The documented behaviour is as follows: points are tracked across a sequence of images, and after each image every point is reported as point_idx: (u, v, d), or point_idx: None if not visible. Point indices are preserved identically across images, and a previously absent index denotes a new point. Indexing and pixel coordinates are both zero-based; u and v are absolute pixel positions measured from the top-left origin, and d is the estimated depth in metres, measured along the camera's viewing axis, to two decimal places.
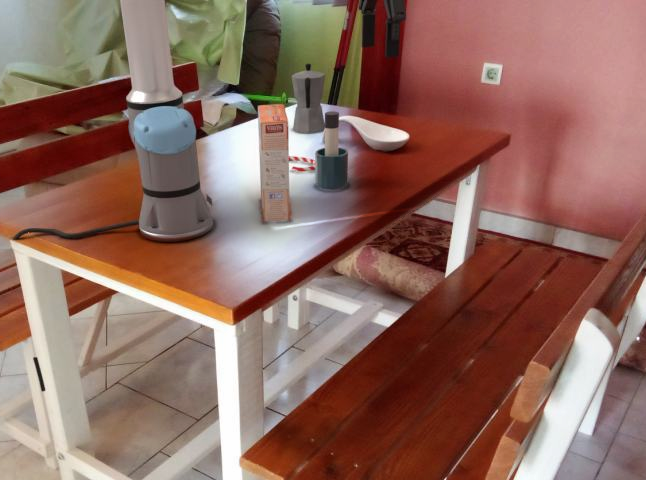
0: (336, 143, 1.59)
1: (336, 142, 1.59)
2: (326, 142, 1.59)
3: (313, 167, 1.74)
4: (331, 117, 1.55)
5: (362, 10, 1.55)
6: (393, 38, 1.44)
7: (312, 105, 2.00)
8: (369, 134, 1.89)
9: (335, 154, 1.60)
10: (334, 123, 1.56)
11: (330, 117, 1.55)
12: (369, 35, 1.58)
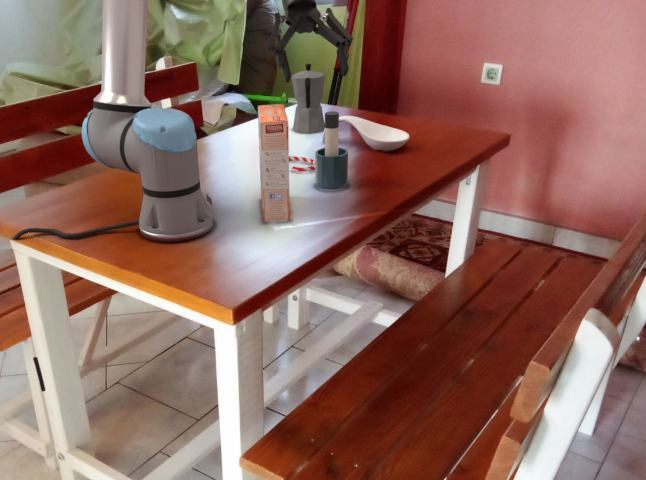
0: (336, 143, 1.59)
1: (336, 142, 1.59)
2: (326, 142, 1.59)
3: (313, 167, 1.74)
4: (331, 117, 1.55)
5: None
6: (278, 66, 1.62)
7: (312, 105, 2.00)
8: (369, 134, 1.89)
9: (335, 154, 1.60)
10: (334, 123, 1.56)
11: (330, 117, 1.55)
12: (342, 63, 1.63)
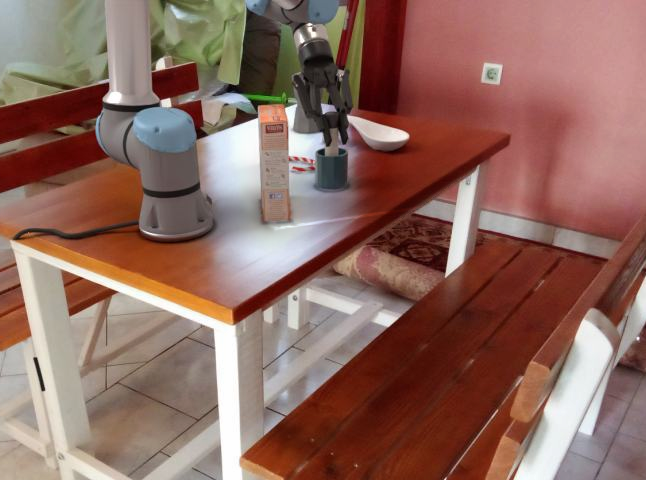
0: (336, 143, 1.59)
1: (336, 142, 1.59)
2: None
3: (313, 167, 1.74)
4: (331, 117, 1.55)
5: None
6: (318, 130, 1.57)
7: (312, 105, 2.00)
8: (369, 134, 1.89)
9: (335, 154, 1.60)
10: (334, 123, 1.56)
11: (330, 117, 1.55)
12: (341, 132, 1.57)
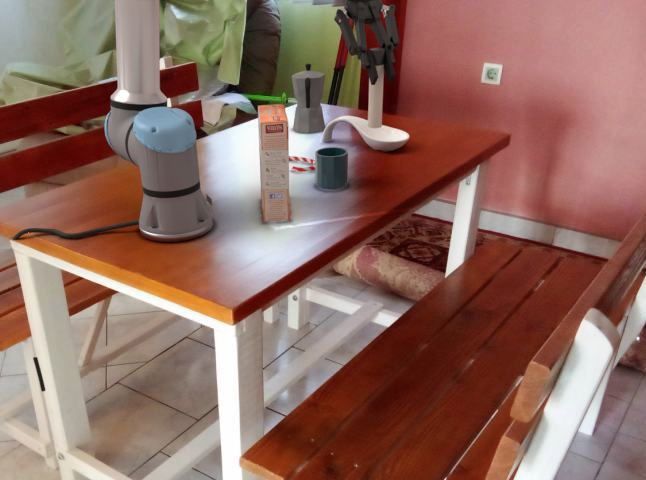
0: (381, 82, 1.51)
1: (381, 80, 1.51)
2: None
3: (313, 167, 1.74)
4: (377, 53, 1.48)
5: None
6: (363, 67, 1.49)
7: (312, 105, 2.00)
8: (369, 134, 1.89)
9: (380, 94, 1.52)
10: (380, 60, 1.49)
11: (376, 53, 1.48)
12: (387, 69, 1.49)
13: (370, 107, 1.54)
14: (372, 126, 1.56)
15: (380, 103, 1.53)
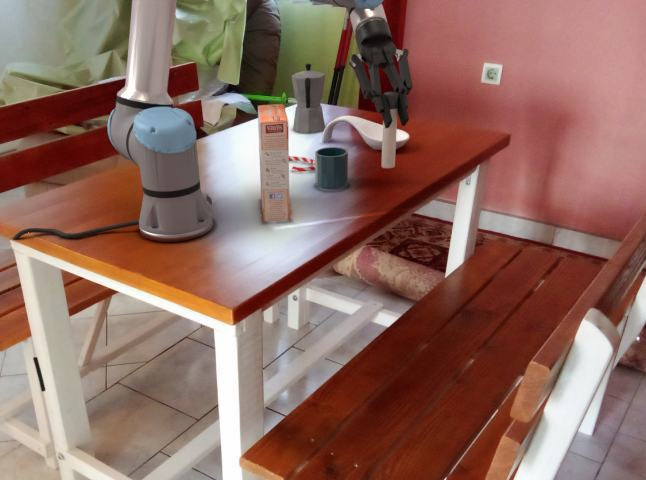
0: (395, 124, 1.56)
1: (395, 123, 1.55)
2: None
3: (313, 167, 1.74)
4: (391, 98, 1.52)
5: None
6: (377, 111, 1.54)
7: (312, 105, 2.00)
8: (369, 134, 1.89)
9: (393, 136, 1.57)
10: (394, 103, 1.53)
11: (390, 97, 1.52)
12: (401, 112, 1.53)
13: (384, 148, 1.59)
14: (386, 166, 1.60)
15: (393, 144, 1.58)
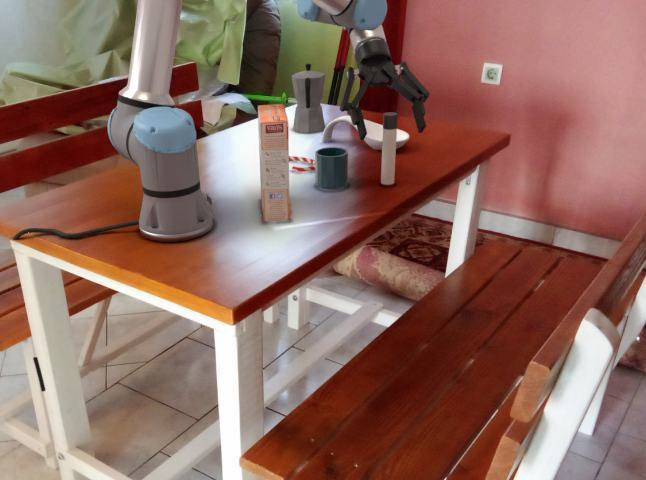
0: (394, 144, 1.58)
1: (394, 143, 1.58)
2: (384, 143, 1.58)
3: (313, 167, 1.74)
4: (390, 118, 1.54)
5: None
6: (352, 123, 1.55)
7: (312, 105, 2.00)
8: (369, 134, 1.89)
9: (393, 155, 1.59)
10: (393, 124, 1.55)
11: (389, 118, 1.54)
12: (418, 119, 1.57)
13: (383, 167, 1.61)
14: None
15: (393, 164, 1.60)
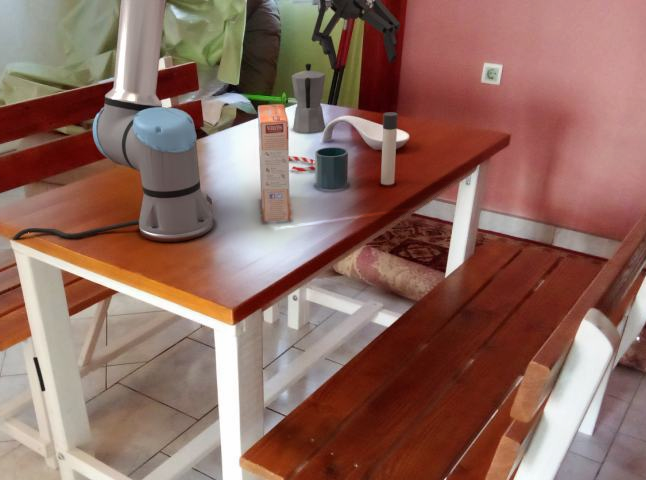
0: (394, 144, 1.58)
1: (394, 143, 1.58)
2: (384, 143, 1.58)
3: (313, 167, 1.74)
4: (390, 118, 1.54)
5: None
6: (324, 52, 1.57)
7: (312, 105, 2.00)
8: (369, 134, 1.89)
9: (393, 155, 1.59)
10: (393, 124, 1.55)
11: (389, 118, 1.54)
12: (389, 50, 1.59)
13: (383, 167, 1.61)
14: None
15: (393, 164, 1.60)
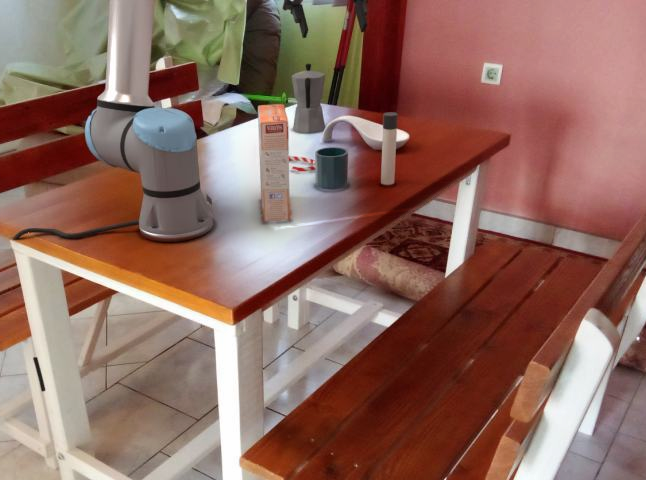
0: (394, 144, 1.58)
1: (394, 143, 1.58)
2: (384, 143, 1.58)
3: (313, 167, 1.74)
4: (390, 118, 1.54)
5: None
6: (295, 21, 1.57)
7: (312, 105, 2.00)
8: (369, 134, 1.89)
9: (393, 155, 1.59)
10: (393, 124, 1.55)
11: (389, 118, 1.54)
12: (360, 18, 1.59)
13: (383, 167, 1.61)
14: None
15: (393, 164, 1.60)
